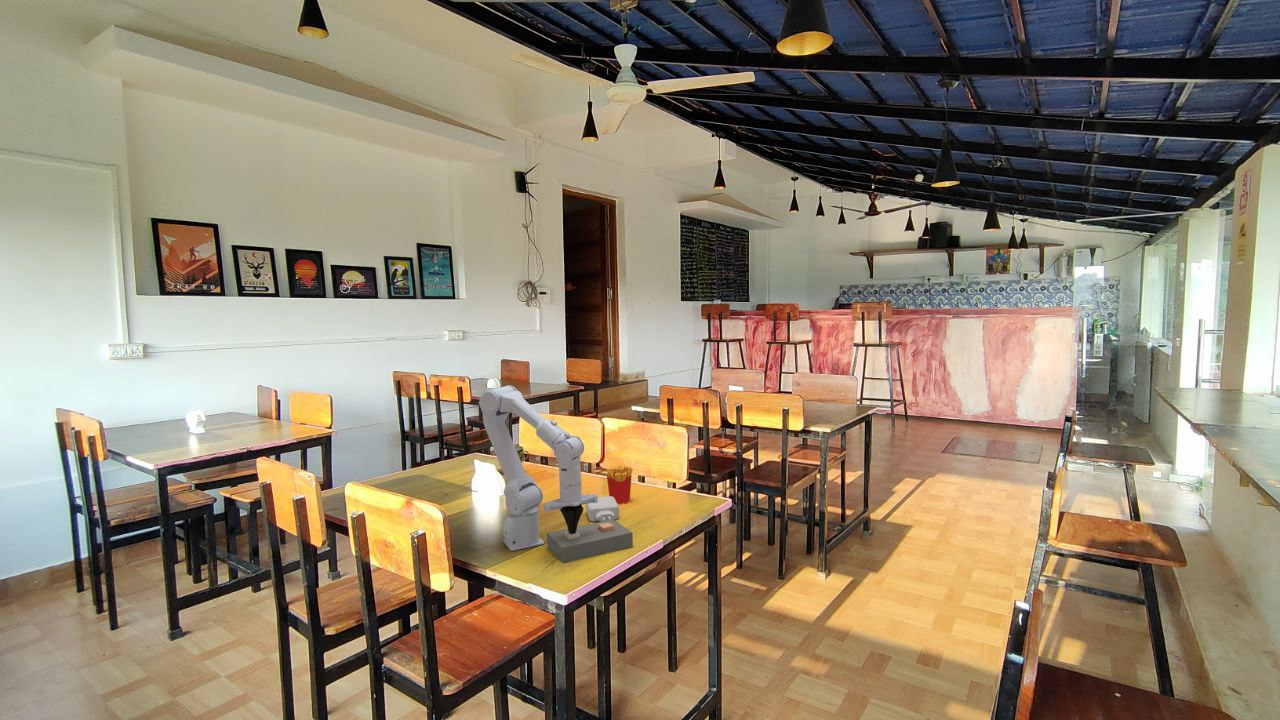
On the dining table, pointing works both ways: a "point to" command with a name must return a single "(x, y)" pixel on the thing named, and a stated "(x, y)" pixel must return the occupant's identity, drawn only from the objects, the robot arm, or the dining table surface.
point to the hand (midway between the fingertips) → (572, 532)
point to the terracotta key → (606, 527)
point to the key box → (589, 541)
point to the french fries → (620, 483)
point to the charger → (603, 509)
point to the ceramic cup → (520, 453)
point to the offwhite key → (571, 535)
